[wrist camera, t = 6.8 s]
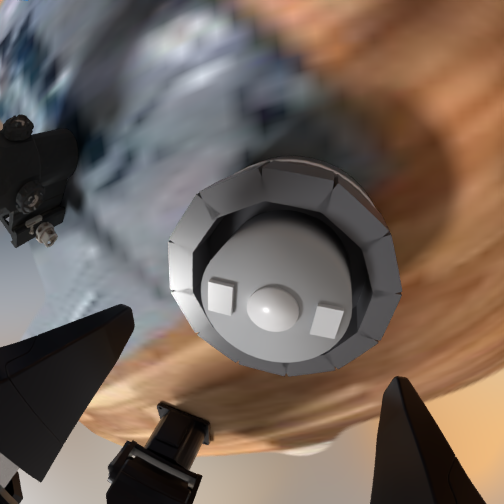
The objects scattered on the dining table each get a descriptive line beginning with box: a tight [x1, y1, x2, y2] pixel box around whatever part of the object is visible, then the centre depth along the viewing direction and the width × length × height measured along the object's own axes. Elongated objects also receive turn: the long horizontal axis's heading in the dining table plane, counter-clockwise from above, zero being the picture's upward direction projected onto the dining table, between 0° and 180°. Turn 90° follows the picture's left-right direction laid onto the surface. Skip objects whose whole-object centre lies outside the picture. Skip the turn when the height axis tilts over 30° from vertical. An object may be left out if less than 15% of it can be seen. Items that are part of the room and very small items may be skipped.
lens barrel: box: [168, 156, 402, 376], centre depth 14 cm, size 10×10×5 cm
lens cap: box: [201, 210, 352, 363], centre depth 12 cm, size 6×6×3 cm
